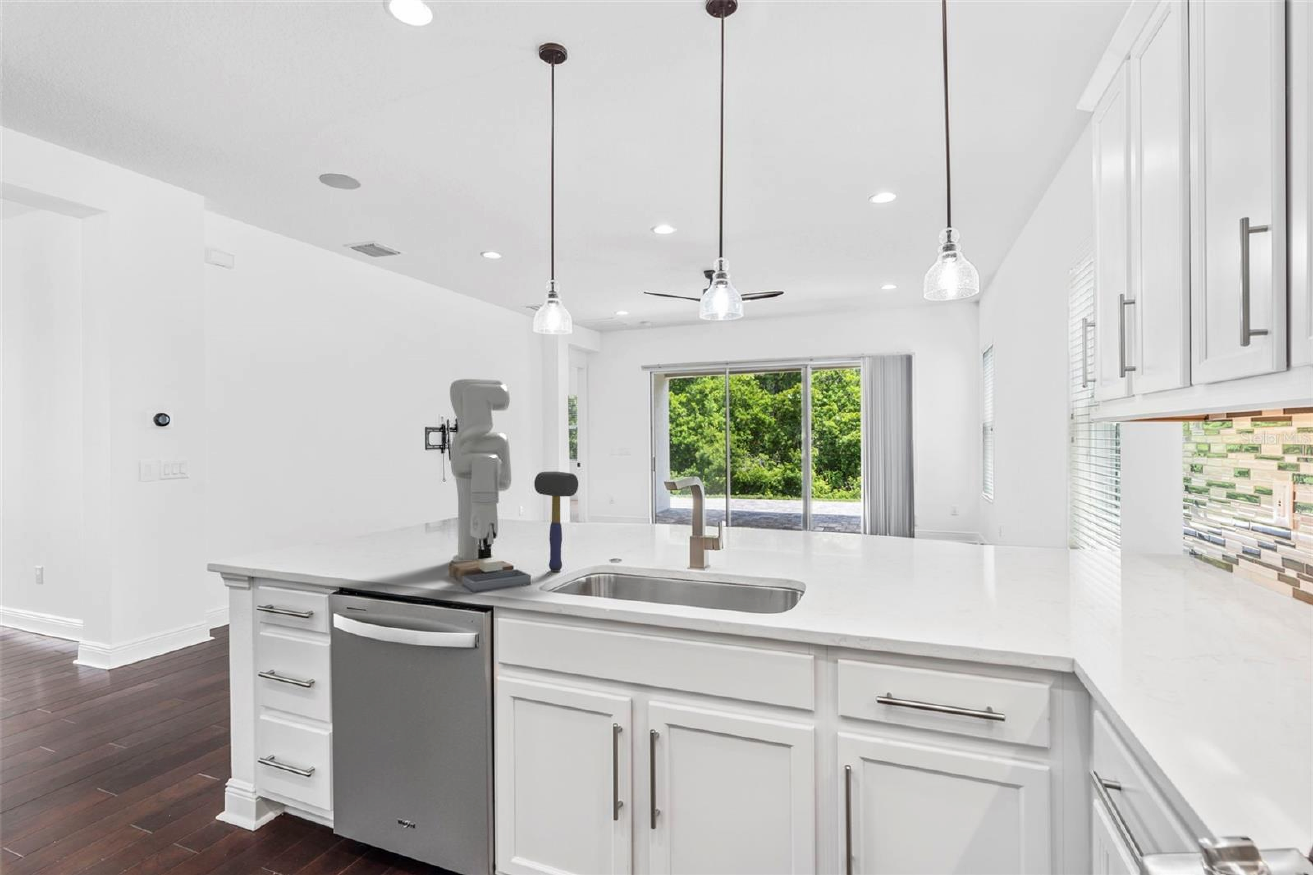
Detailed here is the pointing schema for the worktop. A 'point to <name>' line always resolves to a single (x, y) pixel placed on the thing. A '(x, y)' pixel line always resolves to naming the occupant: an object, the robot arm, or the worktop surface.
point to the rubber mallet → (556, 507)
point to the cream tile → (490, 564)
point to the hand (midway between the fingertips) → (484, 562)
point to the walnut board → (471, 569)
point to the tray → (496, 580)
